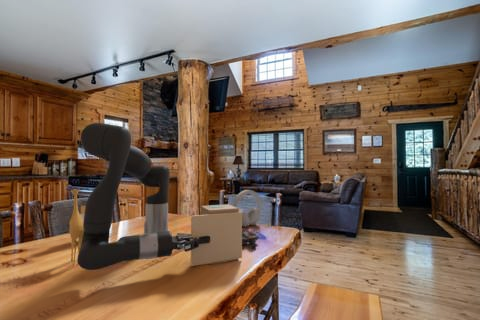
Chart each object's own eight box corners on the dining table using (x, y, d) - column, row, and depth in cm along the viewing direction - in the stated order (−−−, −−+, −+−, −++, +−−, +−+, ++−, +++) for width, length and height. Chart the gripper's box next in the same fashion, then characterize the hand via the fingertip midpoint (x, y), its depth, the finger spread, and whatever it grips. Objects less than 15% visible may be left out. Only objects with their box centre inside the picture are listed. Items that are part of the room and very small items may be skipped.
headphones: (238, 230, 133) (238, 191, 134) (229, 227, 140) (229, 190, 140) (265, 225, 145) (265, 189, 145) (255, 222, 151) (255, 188, 152)
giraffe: (65, 254, 95) (67, 187, 96) (79, 252, 98) (81, 186, 98) (70, 269, 82) (72, 191, 83) (86, 265, 85) (88, 190, 86)
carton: (208, 264, 87) (209, 210, 87) (200, 255, 96) (201, 205, 96) (238, 259, 91) (238, 207, 92) (227, 251, 100) (228, 204, 101)
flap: (240, 256, 91) (240, 211, 92) (241, 257, 90) (242, 212, 91) (190, 264, 84) (191, 215, 84) (191, 265, 83) (192, 216, 83)
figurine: (235, 220, 132) (268, 233, 106) (235, 231, 132) (268, 247, 106) (212, 223, 126) (240, 237, 100) (212, 234, 126) (241, 252, 100)
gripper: (158, 238, 73) (216, 232, 80) (152, 227, 85) (203, 223, 92) (157, 265, 72) (215, 256, 80) (152, 250, 85) (203, 244, 92)
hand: (208, 238), depth 86 cm, fingers closed
